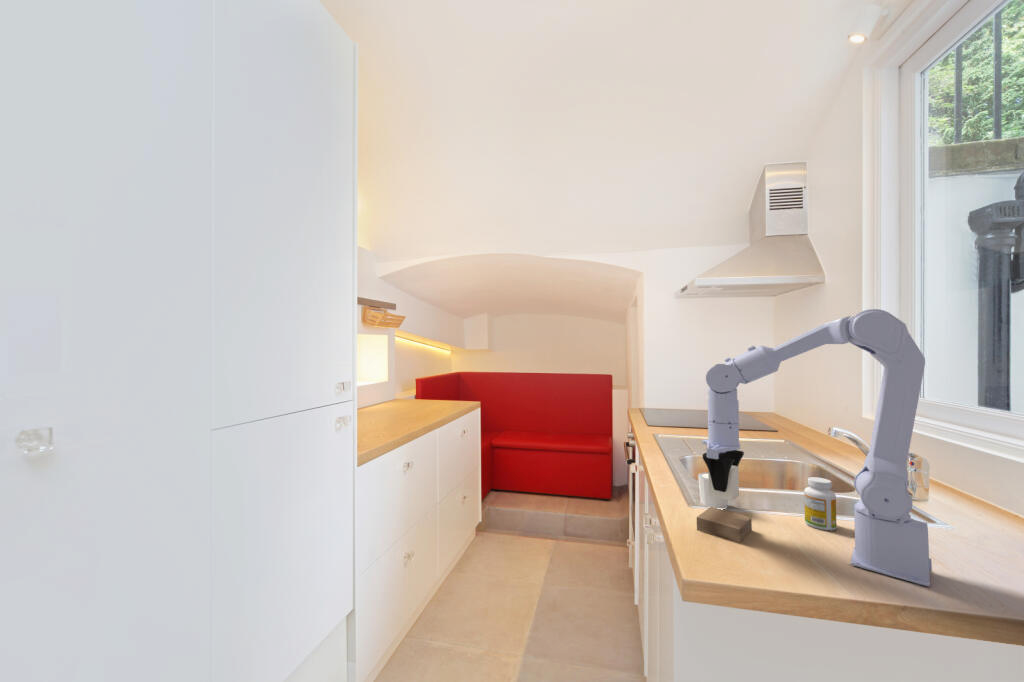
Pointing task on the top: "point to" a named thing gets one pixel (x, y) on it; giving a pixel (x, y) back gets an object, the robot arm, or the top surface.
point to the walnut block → (724, 524)
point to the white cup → (704, 493)
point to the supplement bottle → (820, 504)
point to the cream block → (732, 486)
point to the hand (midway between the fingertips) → (723, 487)
